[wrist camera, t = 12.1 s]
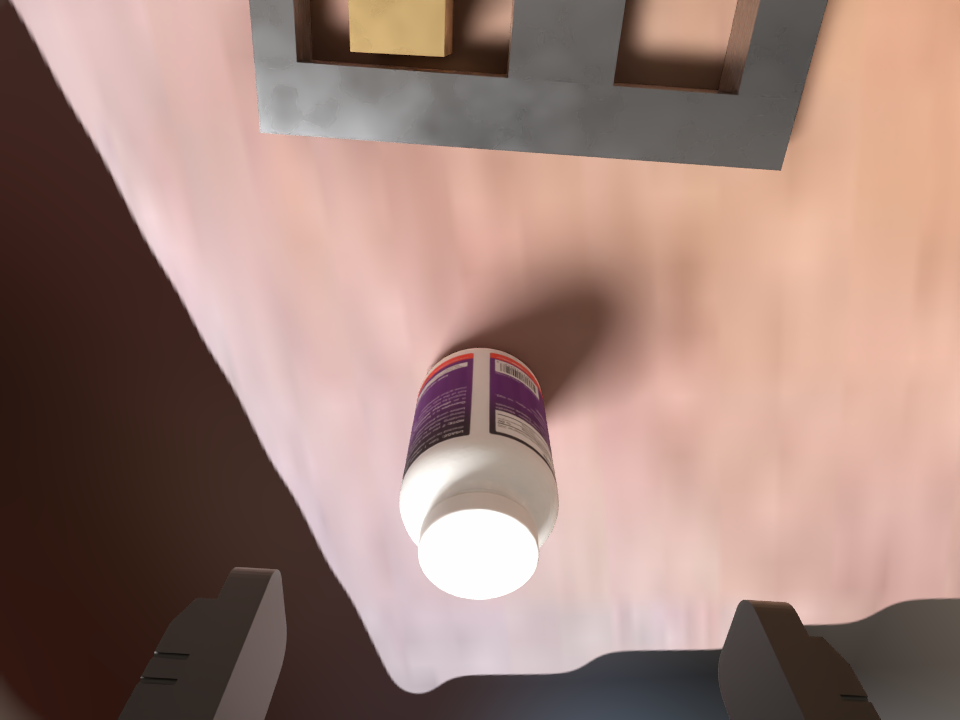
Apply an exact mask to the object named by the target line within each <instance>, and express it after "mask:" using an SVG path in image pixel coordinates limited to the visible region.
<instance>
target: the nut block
mask: <svg viewBox="0 0 960 720" xmlns="http://www.w3.org/2000/svg"><path fill="white" fill-rule="evenodd" d="M348 5H349V30H350V52H365V53H383V54H401V55H420V56H438V57H445V56H447V55H449V54H451V53H452V32H453V0H348Z"/></svg>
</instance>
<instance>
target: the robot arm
mask: <svg viewBox="0 0 960 720" xmlns="http://www.w3.org/2000/svg"><path fill="white" fill-rule="evenodd" d="M286 637H287V629H286V618H285V608H284V598H283V588H282V579H281V573H280V571H279V570H276V569H259V568H242V567H235V568H233V569H232V570H231V572H230V573H229V575H228V577H227V579H226V581H225V583H224V585H223V587H222V589H221V591H220V593H219V595H218V597H217V599H211V598H196V599H195V600H194V601H193V602H192V603H191V604H190V605H189V606H187V607H186V608H185V609H184V610H183V611H182V612H181V613H180V614H179V615H178V616H177V617H176V618H175V619H174V620H173V621H172V622H171V623H170V625H169V626H168V628H167V630H166V632H165V634H164V636H163V637H162V639H161V641H160V643H159V645H158V646H157V648H156V650H155V654H154V657H153V658H151V659H150V661H149V663H148V665H147V667H146V668H145V671H144V673H143V674H142V676H141V681H140V683H137V685H136V687H135V689H134V691H133V692H132V694H131V696H130V698H129V700H128V702H127V703H126V705H125V707H124V709H123V711H122V713H121V714H120V716H119V718H118V720H264V719H265V716H266V712H267V709H268V706H269V703H270V700H271V697H272V694H273V691H274V688H275V685H276V682H277V679H278V676H279V673H280V670H281V667H282V663H283V658H284V654H285V648H286ZM718 677H719V685H720V690H721V694H722V698H723V701H724V703H725V706H726V709H727V712H728V715H729V718H730V720H881V719H880V717H879V715H878V713H877V712H876V710H875V708H874V706H873V705H872V703H871V702H868V699H867V694H866V692H865V691H864V689H863V687H862V685H861V684H860V682H859V680H858V678H857V676H856V675H855V673H854V671H853V670H852V668H851V666H850V664H848V663H847V662H846V661H845V659H844V658H843V657H842V656H841V655H840V654H839V653H838V652H837V651H836V650H835V649H834V648H833V647H832V646H831V645H830V644H829V643H828V642H827V641H826V640H825V639H824V638H823V637H811V636H809V635H808V633H807V631H806V629H805V628H804V626H803V624H802V622H801V620H800V618H799V616H798V614H797V613H796V611H795V609H794V608H793V607H792V606H791V605H790V604H789V603H786V602H771V601H755V600H742V601H741V602H740V603H739V605H738V607H737V609H736V612H735V615H734V618H733V621H732V624H731V626H730V629H729V632H728V635H727V638H726V641H725V643H724V646H723V649H722V652H721V655H720V659H719V666H718Z"/></svg>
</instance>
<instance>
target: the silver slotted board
mask: <svg viewBox="0 0 960 720" xmlns="http://www.w3.org/2000/svg"><path fill="white" fill-rule="evenodd" d="M827 1H828V0H738V2H737V7H736V11H735V16H734V20H733V25H732V29H731V34H730V38H729V43H728V48H727V52H726V57H725V61H724V66H723V70H722V75H721V79H720V84H719V89H718V90H707V89H694V88H680V87H667V86H654V85H640V84H627V83H614V76H615V69H616V63H617V56H618V49H619V42H620V36H621V29H622V22H623V16H624V9H625V2H626V0H513V2H512V15H511V27H510V40H509V53H508V65H507V74H493V73H480V72H467V71H453V70H440V69H426V68H413V67H400V66H386V65H373V64H360V63H346V62H333V61H320V60H313V59H312V38H311V16H310V0H249V4H250V16H251V28H252V40H253V52H254V63H255V75H256V87H257V99H258V111H259V122H260V133H271V134H285V135H299V136H313V137H326V138H340V139H354V140H368V141H381V142H395V143H409V144H423V145H436V146H450V147H464V148H477V149H491V150H505V151H519V152H532V153H546V154H560V155H574V156H587V157H601V158H615V159H629V160H642V161H656V162H670V163H683V164H697V165H711V166H725V167H738V168H752V169H766V170H780V171H781V168H782V164H783V161H784V157H785V153H786V150H787V146H788V143H789V139H790V135H791V132H792V128H793V124H794V121H795V117H796V113H797V110H798V106H799V103H800V99H801V95H802V92H803V88H804V84H805V81H806V77H807V74H808V70H809V66H810V63H811V59H812V55H813V52H814V48H815V44H816V41H817V37H818V34H819V30H820V26H821V23H822V19H823V15H824V12H825V8H826V5H827Z"/></svg>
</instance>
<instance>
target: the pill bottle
mask: <svg viewBox="0 0 960 720" xmlns="http://www.w3.org/2000/svg"><path fill="white" fill-rule="evenodd" d="M399 503H400V512H401V516H402V520H403V522H404V525H405V527H406V529H407V532H408V534H409V535H410V537H411V538H412V540H413V541H414V542H415V543H416V545H417V546H418V557H419V563H420V565H421V568H422V570H423V572H424V573H425V575H426V576H427V577H428V579H429V580H430V581H431V582H432V583H433V584H435V585H436V586H437V587H439V588H440V589H442V590H444V591H446V592H447V593H450V594H452V595H455V596H458V597H462V598H468V599H490V598H496V597H499V596H503V595H506V594H508V593H510V592H512V591H514V590H516V589H518V588H519V587H521V586H522V585H523V584H524V583H525V582H527V581H528V579H529V578H530V577H531V576H532V574H533V573H534V571H535V569H536V567H537V563H538V559H539V548H540V547H541V546H542V544H543V543H544V542H545V541H546V540H547V538H548V537H549V535H550V533H551V532H552V530H553V528H554V525H555V522H556V519H557V515H558V507H559V499H558V490H557V484H556V478H555V472H554V466H553V460H552V453H551V447H550V440H549V434H548V428H547V421H546V415H545V408H544V401H543V396H542V392H541V388H540V386H539V383H538V381H537V379H536V377H535V376H534V374H533V373H532V372H531V370H530V369H529V368H528V367H527V366H526V365H525V364H524V363H523V362H521V361H520V360H519V359H517V358H516V357H514V356H512V355H510V354H508V353H505V352H503V351H499V350H495V349H490V348H471V349H465V350H461V351H458V352H455V353H453V354H451V355H449V356H447V357H445V358H443V359H442V360H441V361H439V362H438V363H437V364H436V365H435V366H434V367H433V368H432V369H431V370H430V371H429V372H428V374H427V375H426V377H425V378H424V380H423V382H422V385H421V387H420V390H419V394H418V399H417V404H416V410H415V416H414V421H413V426H412V432H411V437H410V443H409V448H408V454H407V459H406V465H405V470H404V475H403V480H402V485H401V490H400V500H399Z"/></svg>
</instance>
